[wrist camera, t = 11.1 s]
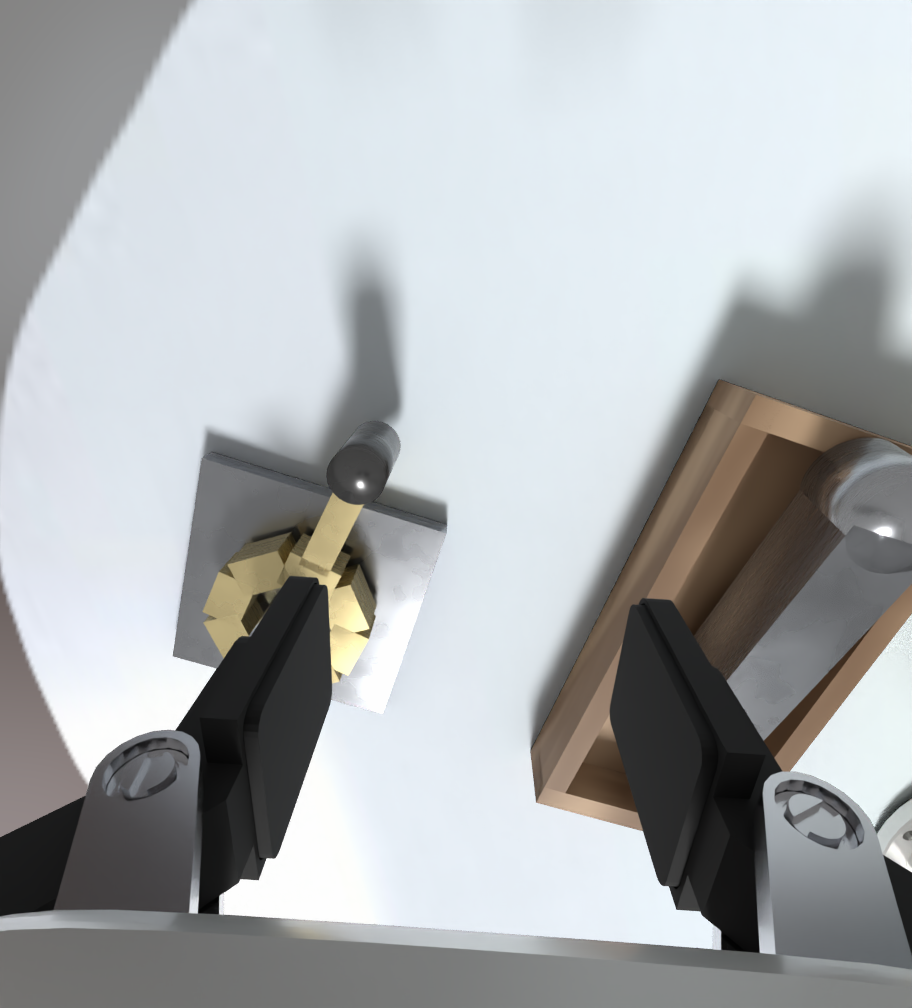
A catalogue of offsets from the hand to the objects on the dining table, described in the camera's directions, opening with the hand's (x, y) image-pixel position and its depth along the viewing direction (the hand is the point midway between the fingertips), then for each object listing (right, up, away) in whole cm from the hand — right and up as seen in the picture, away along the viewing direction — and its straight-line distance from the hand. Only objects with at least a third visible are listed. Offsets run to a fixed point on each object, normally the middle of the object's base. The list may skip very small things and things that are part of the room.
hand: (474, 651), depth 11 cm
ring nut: (-7, +1, +15) cm, 17 cm away
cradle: (+13, -3, +18) cm, 22 cm away
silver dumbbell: (+14, -2, +15) cm, 20 cm away
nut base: (-8, -1, +18) cm, 20 cm away
